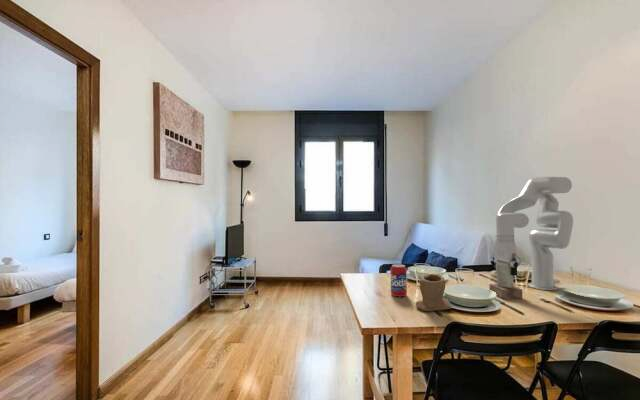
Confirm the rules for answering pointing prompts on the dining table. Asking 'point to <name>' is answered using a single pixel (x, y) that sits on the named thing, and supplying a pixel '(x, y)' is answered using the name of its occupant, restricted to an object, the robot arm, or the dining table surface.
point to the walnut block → (506, 292)
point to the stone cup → (432, 293)
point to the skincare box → (504, 274)
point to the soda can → (398, 280)
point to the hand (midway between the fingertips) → (505, 272)
